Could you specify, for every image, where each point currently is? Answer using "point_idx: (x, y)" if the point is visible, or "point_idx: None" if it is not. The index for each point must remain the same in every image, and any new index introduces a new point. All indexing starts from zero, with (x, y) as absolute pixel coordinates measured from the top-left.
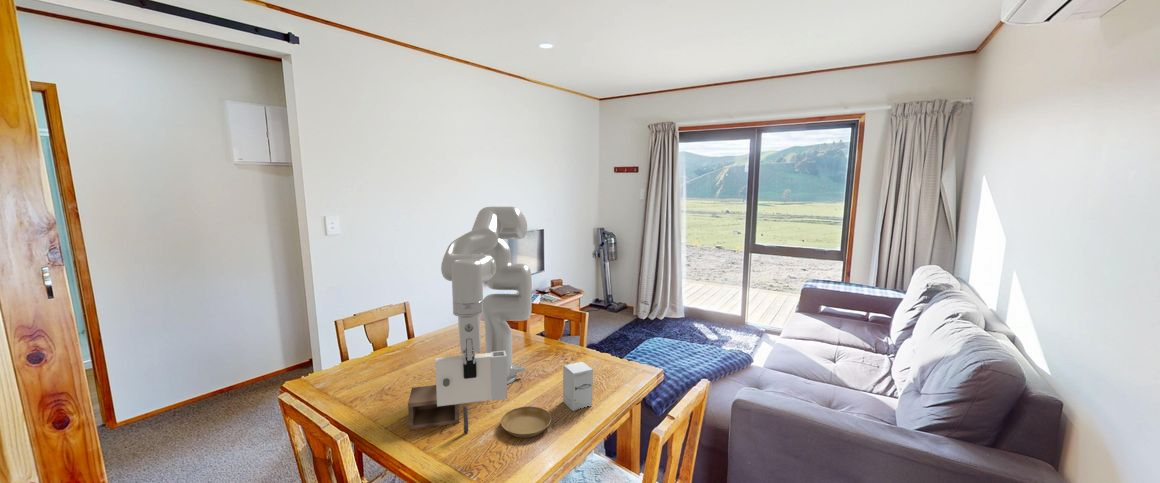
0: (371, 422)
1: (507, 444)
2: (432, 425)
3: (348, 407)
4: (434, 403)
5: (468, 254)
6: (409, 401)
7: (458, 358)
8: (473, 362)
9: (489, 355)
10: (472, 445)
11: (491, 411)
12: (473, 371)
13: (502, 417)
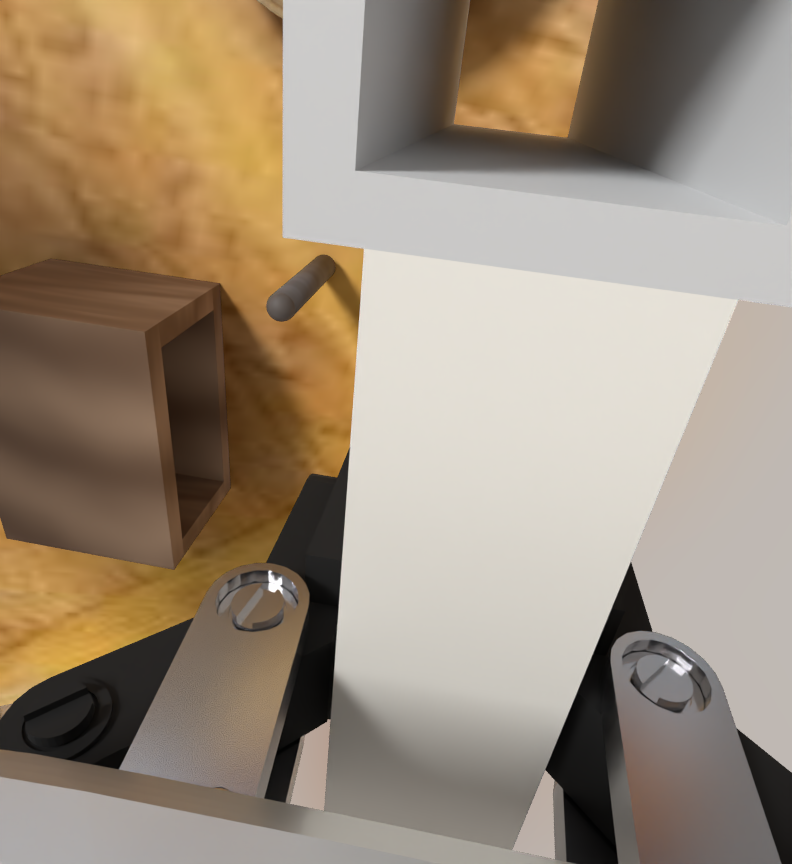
0: (152, 589)
1: (529, 34)
2: (224, 406)
3: (41, 637)
4: (170, 452)
5: None
6: (153, 562)
7: None
8: (702, 706)
9: (586, 347)
10: None
11: (124, 70)
12: None
13: (279, 12)
